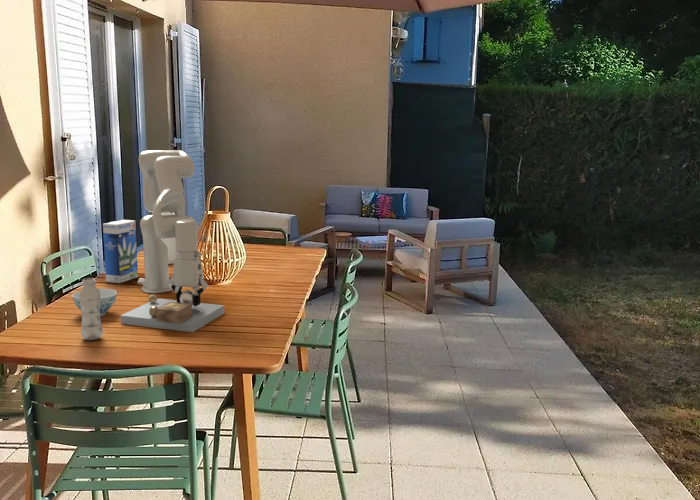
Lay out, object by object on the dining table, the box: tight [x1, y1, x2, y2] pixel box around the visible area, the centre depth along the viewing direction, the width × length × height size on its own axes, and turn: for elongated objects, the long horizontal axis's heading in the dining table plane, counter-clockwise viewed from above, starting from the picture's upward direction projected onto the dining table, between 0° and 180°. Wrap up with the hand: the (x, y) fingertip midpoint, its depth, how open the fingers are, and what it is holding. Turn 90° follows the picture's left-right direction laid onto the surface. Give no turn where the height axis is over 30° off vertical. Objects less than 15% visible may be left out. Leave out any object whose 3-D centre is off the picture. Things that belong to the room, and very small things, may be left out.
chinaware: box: [71, 288, 118, 317], centre depth 233 cm, size 15×15×8 cm
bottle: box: [161, 212, 176, 265], centre depth 317 cm, size 14×14×28 cm
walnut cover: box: [156, 302, 192, 324], centre depth 219 cm, size 9×9×5 cm
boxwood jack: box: [147, 294, 158, 303], centre depth 238 cm, size 3×3×3 cm
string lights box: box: [102, 219, 139, 284], centre depth 282 cm, size 13×8×26 cm, turn 161°
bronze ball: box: [149, 306, 158, 317], centre depth 222 cm, size 4×4×4 cm
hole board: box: [120, 297, 225, 333], centre depth 231 cm, size 28×23×3 cm
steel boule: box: [179, 289, 195, 306], centre depth 228 cm, size 6×6×6 cm
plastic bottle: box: [79, 277, 104, 341], centre depth 206 cm, size 6×7×20 cm
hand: (188, 304), depth 228 cm, fingers closed on steel boule, 6 cm apart
